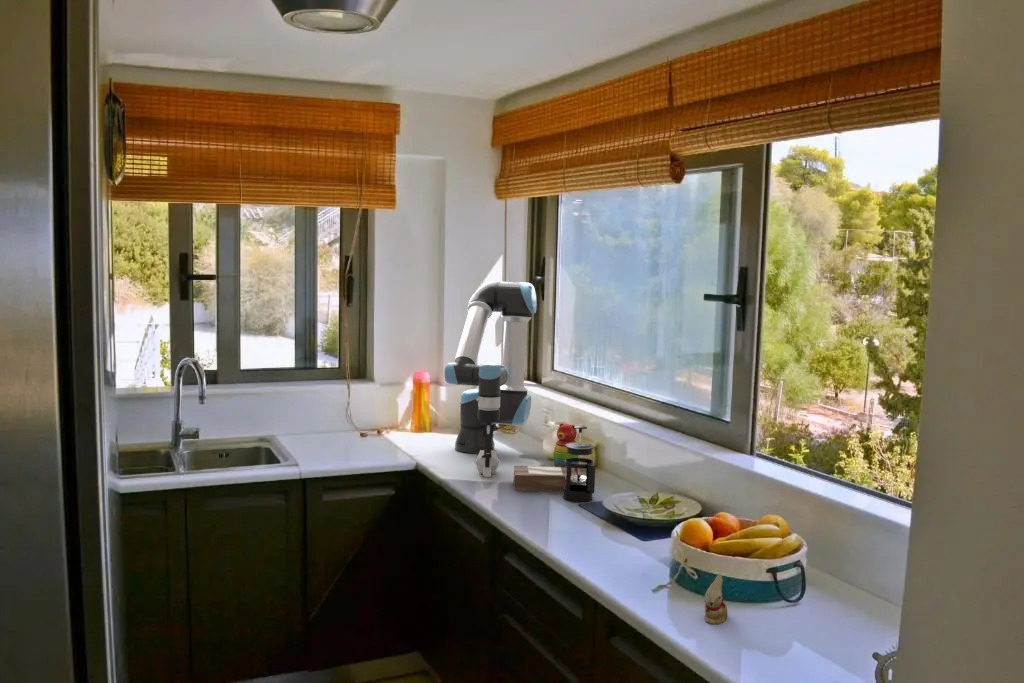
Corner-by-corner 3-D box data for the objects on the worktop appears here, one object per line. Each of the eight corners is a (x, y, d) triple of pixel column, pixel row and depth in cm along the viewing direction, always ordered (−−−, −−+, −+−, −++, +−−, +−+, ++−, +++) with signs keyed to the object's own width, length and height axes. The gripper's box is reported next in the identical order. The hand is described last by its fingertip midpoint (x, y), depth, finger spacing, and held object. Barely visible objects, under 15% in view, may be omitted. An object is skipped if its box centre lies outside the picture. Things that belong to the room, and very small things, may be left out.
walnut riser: (513, 480, 303) (514, 465, 302) (573, 481, 303) (573, 466, 303) (514, 490, 291) (515, 474, 290) (576, 491, 291) (577, 475, 291)
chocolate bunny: (693, 618, 194) (695, 573, 193) (718, 610, 199) (720, 566, 198) (712, 627, 190) (714, 581, 189) (737, 619, 194) (740, 574, 193)
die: (490, 479, 305) (505, 455, 308) (468, 465, 306) (484, 442, 309) (490, 482, 313) (505, 458, 315) (469, 468, 314) (484, 445, 316)
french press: (555, 496, 285) (557, 424, 282) (576, 492, 291) (579, 421, 288) (581, 505, 276) (583, 431, 273) (602, 500, 282) (605, 428, 279)
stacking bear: (543, 474, 312) (545, 423, 310) (562, 469, 319) (564, 420, 317) (568, 480, 305) (569, 428, 303) (586, 475, 312) (588, 424, 310)
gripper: (478, 402, 320) (476, 464, 322) (477, 414, 298) (475, 480, 300) (499, 403, 320) (497, 465, 322) (500, 414, 298) (498, 481, 300)
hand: (487, 472), depth 311 cm, fingers closed on die, 9 cm apart
